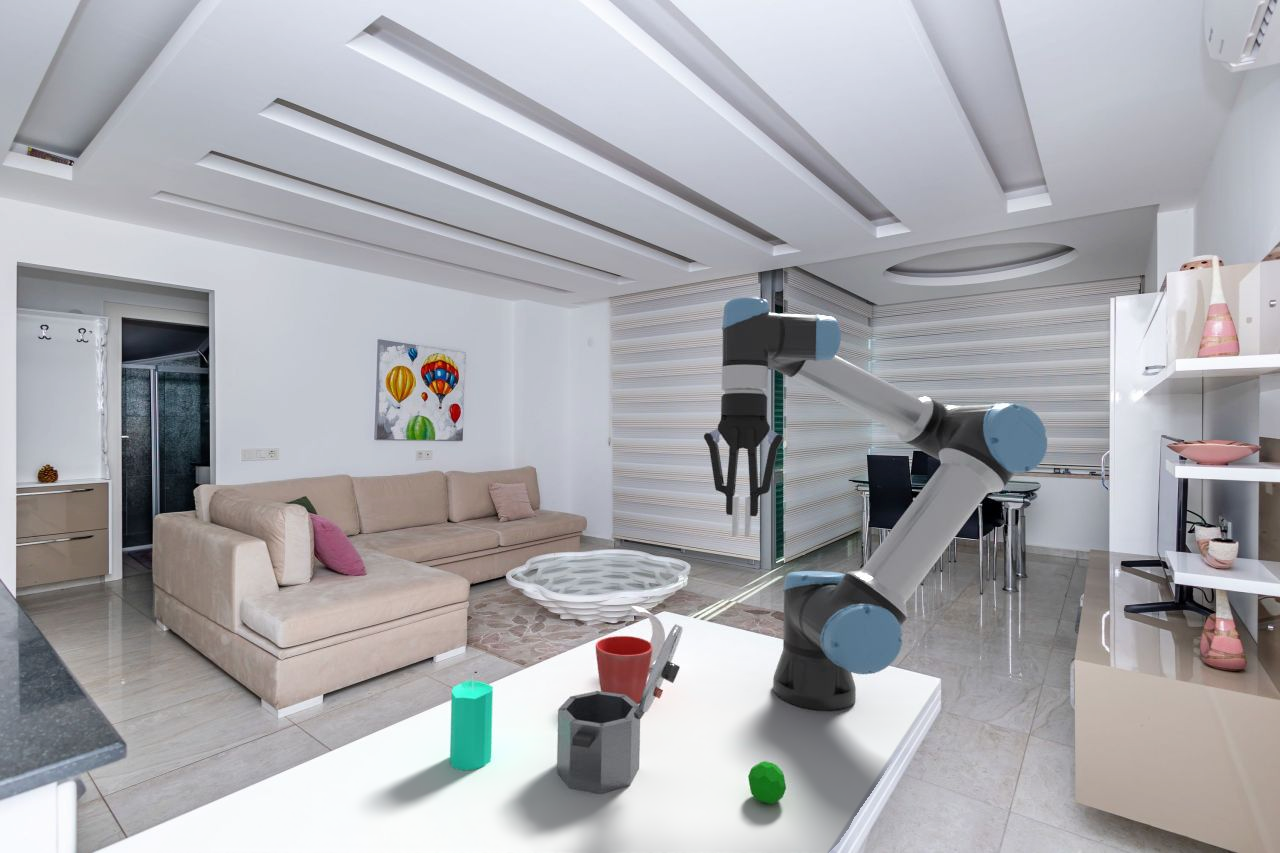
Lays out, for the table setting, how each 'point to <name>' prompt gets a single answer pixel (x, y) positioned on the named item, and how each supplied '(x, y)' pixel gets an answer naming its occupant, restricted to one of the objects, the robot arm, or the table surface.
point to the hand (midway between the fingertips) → (741, 535)
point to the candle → (471, 725)
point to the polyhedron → (767, 782)
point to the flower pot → (624, 665)
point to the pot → (598, 741)
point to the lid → (660, 672)
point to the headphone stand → (653, 632)
